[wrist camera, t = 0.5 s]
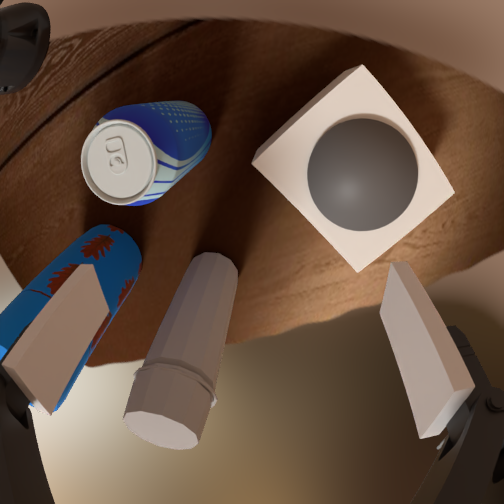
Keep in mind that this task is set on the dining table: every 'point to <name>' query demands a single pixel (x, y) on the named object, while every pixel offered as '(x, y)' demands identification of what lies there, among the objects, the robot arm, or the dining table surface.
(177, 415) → the water bottle
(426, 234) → the dining table surface
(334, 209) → the white block with disc
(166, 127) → the beer can
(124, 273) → the thermos
